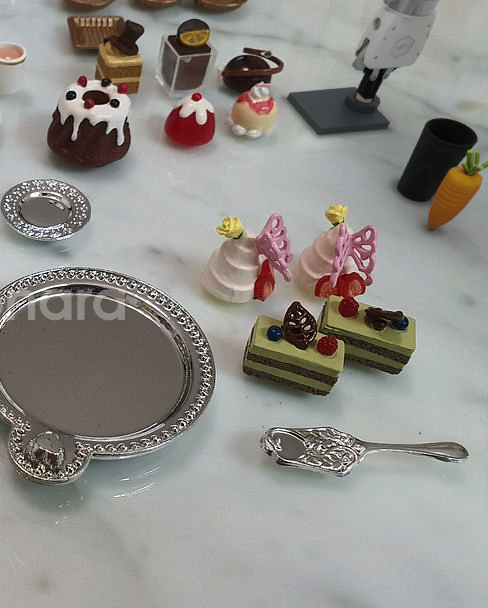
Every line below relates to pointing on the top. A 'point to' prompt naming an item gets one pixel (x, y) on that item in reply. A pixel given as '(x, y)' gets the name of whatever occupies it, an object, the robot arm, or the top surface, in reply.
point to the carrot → (456, 190)
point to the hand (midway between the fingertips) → (364, 95)
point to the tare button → (362, 98)
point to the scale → (338, 110)
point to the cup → (435, 157)
